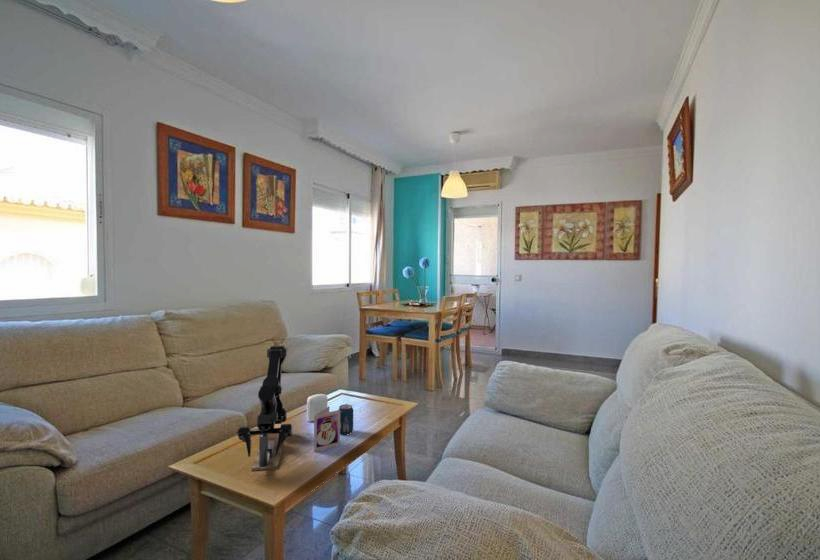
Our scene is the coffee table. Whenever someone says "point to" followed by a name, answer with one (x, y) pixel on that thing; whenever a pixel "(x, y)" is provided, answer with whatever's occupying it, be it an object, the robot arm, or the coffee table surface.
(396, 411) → the coffee table surface
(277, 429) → the robot arm
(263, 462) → the black handled metal tool
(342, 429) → the soda can
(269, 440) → the grey rectangular block
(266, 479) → the coffee table surface
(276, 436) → the socket
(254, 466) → the base board
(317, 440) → the greeting card
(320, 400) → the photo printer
